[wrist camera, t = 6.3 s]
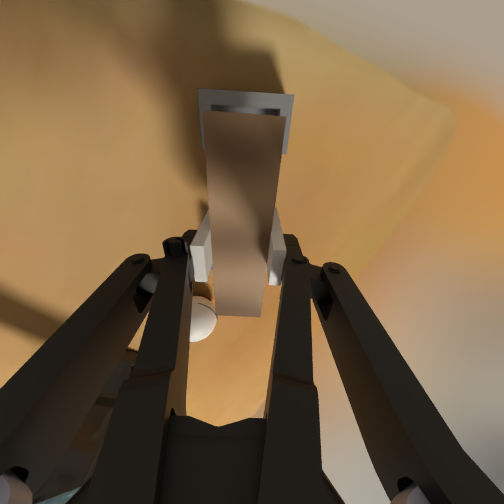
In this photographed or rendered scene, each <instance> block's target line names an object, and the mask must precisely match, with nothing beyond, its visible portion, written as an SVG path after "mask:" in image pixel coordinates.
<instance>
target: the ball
mask: <svg viewBox="0 0 504 504" xmlns="http://www.w3.org/2000/svg"><path fill="white" fill-rule="evenodd" d="M216 322H217V315H216V311H215V307H214V305H213V303H212V302H210V301H209V300H208V299H206V298H204V297H201V296H193V297H192V312H191V328H190V342H196V341H200V340H202V339H204V338H206V337H207V336H208V335H209V334H210V333H211V332H212V331H213V329H214V327H215V324H216Z"/></svg>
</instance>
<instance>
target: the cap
mask: <svg viewBox="0 0 504 504" xmlns="http://www.w3.org/2000/svg"><path fill="white" fill-rule="evenodd" d="M198 100H199V114H200V127H201V140H202V149H205V142H204V127H203V111H219V112H233V113H247V114H261V115H275V116H286V125H285V132H284V140H283V148H282V154H286V152H287V145H288V137H289V130H290V122H291V115H292V107H293V100H294V95H291V94H276V93H261V92H246V91H231V90H216V89H201V88H198ZM202 110H203V111H202Z"/></svg>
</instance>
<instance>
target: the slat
mask: <svg viewBox="0 0 504 504" xmlns="http://www.w3.org/2000/svg"><path fill="white" fill-rule="evenodd" d="M202 111H203V110H202ZM285 125H286V116H275V115H261V114H247V113H233V112H219V111H203V127H204V142H205V157H206V173H207V188H208V203H209V219H210V233H211V247H212V260H213V263H212V265H213V280H214V295H215V311H216V315H222V316H243V317H261V309H262V301H263V294H264V286H265V278H266V271H267V261H268V253H269V244H270V236H271V232H272V225H273V217H274V209H275V201H276V194H277V186H278V178H279V171H280V163H281V155H282V148H283V140H284V132H285Z"/></svg>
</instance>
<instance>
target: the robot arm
mask: <svg viewBox="0 0 504 504" xmlns="http://www.w3.org/2000/svg"><path fill="white" fill-rule="evenodd" d="M162 244H163V248H164V253H165V257H164V258H160V259H153V260H151V259H150V256H149V255H147V254H134V255H132V256H130V257H128V258H127V259H126V260H125V261H124V262H123V263H122V264H121V265H120V266H119V267H118V268H117V269H116V270H115V271H114V272H113V273H112V274H111V275H110V276H109V277H108V278H107V279H106V280H105V281H104V282H103V283H102V284H101V285H100V286H99V287H98V288H97V289H96V291H95V292H94V293H93V294H92V295H91V296H90V297H89V298H88V299H87V300H86V301H85V302H84V303H83V304H82V305H81V306H80V307H79V308H78V309H77V310H76V311H75V312H74V313H73V314H72V315H71V316H70V317H69V318H68V319H67V320H66V322H65V323H64V324H63V325H62V326H61V327H60V328H59V329H58V330H57V331H56V332H55V333H54V334H53V335H52V336H51V337H50V338H49V339H48V340H47V341H46V342H45V343H44V344H43V345H42V346H41V347H40V348H39V349H38V350H37V351H36V353H35V354H34V355H33V356H32V357H31V358H30V359H29V360H28V361H27V362H26V363H25V364H24V365H23V366H22V367H21V368H20V369H19V370H18V371H17V372H16V373H15V374H14V375H13V376H12V377H11V378H10V379H9V380H8V381H7V382H6V384H5V385H4V386H3V387H2V388H1V389H0V504H345V503H344V501H343V500H342V498H341V497H340V495H339V494H338V492H337V491H336V489H335V488H334V486H333V485H332V483H331V482H330V480H329V479H328V478H327V476H326V475H325V473H324V472H323V470H322V461H321V443H320V421H319V403H318V402H319V401H318V392H317V387H316V386H315V385H314V382H313V363H312V332H311V302H310V298H311V299H313V302H314V305H315V308H316V311H317V313H318V316H319V319H320V322H321V324H322V327H323V330H324V333H325V335H326V338H327V341H328V344H329V347H330V349H331V352H332V355H333V358H334V360H335V363H336V366H337V368H338V371H339V374H340V377H341V380H342V382H343V385H344V388H345V391H346V393H347V396H348V399H349V402H350V404H351V407H352V410H353V413H354V415H355V418H356V421H357V424H358V426H359V429H360V432H361V435H362V437H363V440H364V443H365V446H366V449H367V451H368V454H369V456H370V459H371V461H372V464H373V466H374V469H375V471H376V473H377V475H378V477H379V479H380V481H381V483H382V485H383V488H384V490H385V491H386V494H387V496H388V497H389V499H390V501H391V503H390V504H504V494H503V493H502V492H501V491H500V490H499V489H498V488H497V487H496V486H495V484H494V483H493V482H492V481H491V480H490V479H489V478H488V477H487V476H486V474H485V473H484V472H483V471H482V470H481V469H480V468H479V467H478V466H477V465H476V463H475V462H474V461H473V460H472V459H471V458H470V457H469V456H468V455H467V453H466V452H465V451H464V450H463V449H462V447H461V446H460V444H459V443H458V441H457V440H456V438H455V437H454V435H453V434H452V432H451V431H450V429H449V427H448V426H447V424H446V423H445V421H444V420H443V418H442V417H441V415H440V414H439V412H438V411H437V409H436V407H435V406H434V404H433V403H432V401H431V400H430V398H429V397H428V395H427V394H426V392H425V390H424V389H423V387H422V386H421V384H420V383H419V381H418V380H417V378H416V377H415V375H414V373H413V372H412V370H411V369H410V367H409V366H408V364H407V363H406V361H405V360H404V359H403V357H402V355H401V354H400V352H399V350H398V349H397V347H396V346H395V344H394V343H393V341H392V340H391V338H390V337H389V335H388V334H387V332H386V330H385V329H384V328H383V326H382V324H381V323H380V321H379V320H378V318H377V317H376V315H375V314H374V312H373V310H372V309H371V307H370V306H369V304H368V303H367V301H366V300H365V298H364V297H363V295H362V294H361V292H360V290H359V289H358V287H357V286H356V284H355V283H354V281H353V280H352V278H351V277H350V275H349V274H348V272H347V271H346V269H345V268H344V267H343V266H341V265H340V264H337V263H333V262H327V263H325V264H324V265H323V266H322V267H319V266H315V265H312V264H310V263H309V260H308V259H307V258H306V257H305V256H303V254H302V252H301V249H300V246H299V243H298V240H297V238H296V237H295V236H294V235H293V234H283V233H282V229H281V225H280V221H279V216H278V212H277V208H275V209H274V217H273V225H272V232H271V236H270V244H269V253H268V261H267V270H268V282H269V285H281V280H282V288H281V293H280V302H279V309H278V317H277V324H276V331H275V339H274V346H273V353H272V360H271V368H270V375H269V382H268V390H267V397H266V404H265V411H264V417H263V418H247V419H244V420H241V421H237V422H234V423H231V424H227V425H224V426H220V427H216V426H213V425H211V424H208V423H206V422H203V421H201V420H198V419H195V418H193V417H190V416H186V388H187V373H188V358H189V343H190V328H191V312H192V297H193V281H192V280H193V277H195V282H207V280H208V276H209V273H210V270H211V266H212V263H213V260H212V247H211V233H210V219H209V209H208V211H207V213H206V215H205V217H204V219H203V221H202V223H201V225H200V227H199V229H198V230H188V231H186V232H185V233H184V234H183V236H182V237H171V238H168V239H166V240H164V241H163V243H162ZM149 310H150V311H149ZM148 312H149V314H148V318H147V321H146V325H145V329H144V332H143V336H142V339H141V343H140V347H139V350H138V353H137V352H133V351H128V350H126V349H127V347H128V345H129V344H130V342H131V340H132V339H133V337H134V335H135V334H136V332H137V330H138V329H139V327H140V325H141V323H142V322H143V320H144V318H145V317H146V315H147V313H148Z"/></svg>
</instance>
